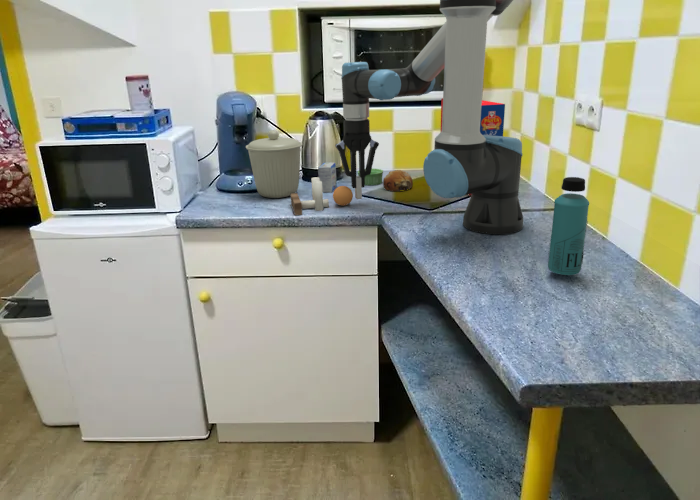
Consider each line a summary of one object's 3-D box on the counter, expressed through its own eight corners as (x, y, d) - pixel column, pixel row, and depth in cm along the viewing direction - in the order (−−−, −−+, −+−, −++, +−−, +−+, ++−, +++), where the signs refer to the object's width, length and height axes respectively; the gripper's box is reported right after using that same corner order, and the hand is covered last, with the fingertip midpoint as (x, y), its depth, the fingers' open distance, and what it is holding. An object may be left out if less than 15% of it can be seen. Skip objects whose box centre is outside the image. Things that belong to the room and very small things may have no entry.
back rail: (302, 214, 153) (301, 203, 152) (295, 215, 153) (294, 203, 151) (297, 204, 164) (297, 193, 163) (291, 204, 164) (290, 193, 162)
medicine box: (332, 192, 176) (331, 167, 173) (319, 192, 177) (317, 167, 174) (336, 187, 183) (335, 162, 180) (324, 187, 184) (323, 162, 181)
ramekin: (385, 180, 191) (385, 168, 189) (380, 186, 182) (380, 174, 181) (360, 180, 193) (360, 168, 191) (355, 186, 184) (355, 173, 183)
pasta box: (439, 179, 189) (441, 98, 179) (459, 177, 190) (463, 97, 181) (475, 199, 163) (480, 105, 153) (498, 196, 165) (505, 103, 155)
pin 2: (323, 210, 156) (322, 182, 153) (315, 211, 156) (314, 183, 153) (322, 208, 159) (321, 180, 156) (314, 209, 158) (313, 181, 155)
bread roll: (412, 196, 183) (412, 173, 184) (412, 190, 173) (413, 166, 173) (383, 196, 184) (383, 173, 185) (382, 190, 174) (382, 166, 174)
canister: (311, 188, 183) (307, 126, 175) (297, 202, 166) (292, 134, 159) (261, 187, 186) (255, 126, 179) (242, 201, 169) (235, 134, 162)
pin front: (328, 199, 158) (300, 202, 157) (329, 207, 159) (300, 209, 158) (327, 198, 160) (299, 200, 159) (327, 206, 161) (300, 208, 160)
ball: (336, 188, 155) (332, 207, 158) (356, 192, 157) (351, 210, 159) (334, 181, 161) (329, 199, 163) (353, 184, 162) (348, 202, 165)
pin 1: (321, 206, 161) (319, 178, 158) (313, 206, 161) (311, 179, 158) (320, 204, 163) (318, 177, 160) (312, 204, 163) (310, 177, 160)
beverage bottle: (563, 284, 103) (575, 183, 96) (538, 273, 108) (548, 176, 101) (588, 278, 105) (601, 179, 98) (563, 267, 111) (574, 173, 104)
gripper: (375, 116, 157) (376, 193, 166) (331, 118, 155) (335, 196, 163) (381, 118, 150) (382, 199, 159) (336, 121, 148) (339, 203, 156)
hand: (358, 198), depth 161 cm, fingers closed
